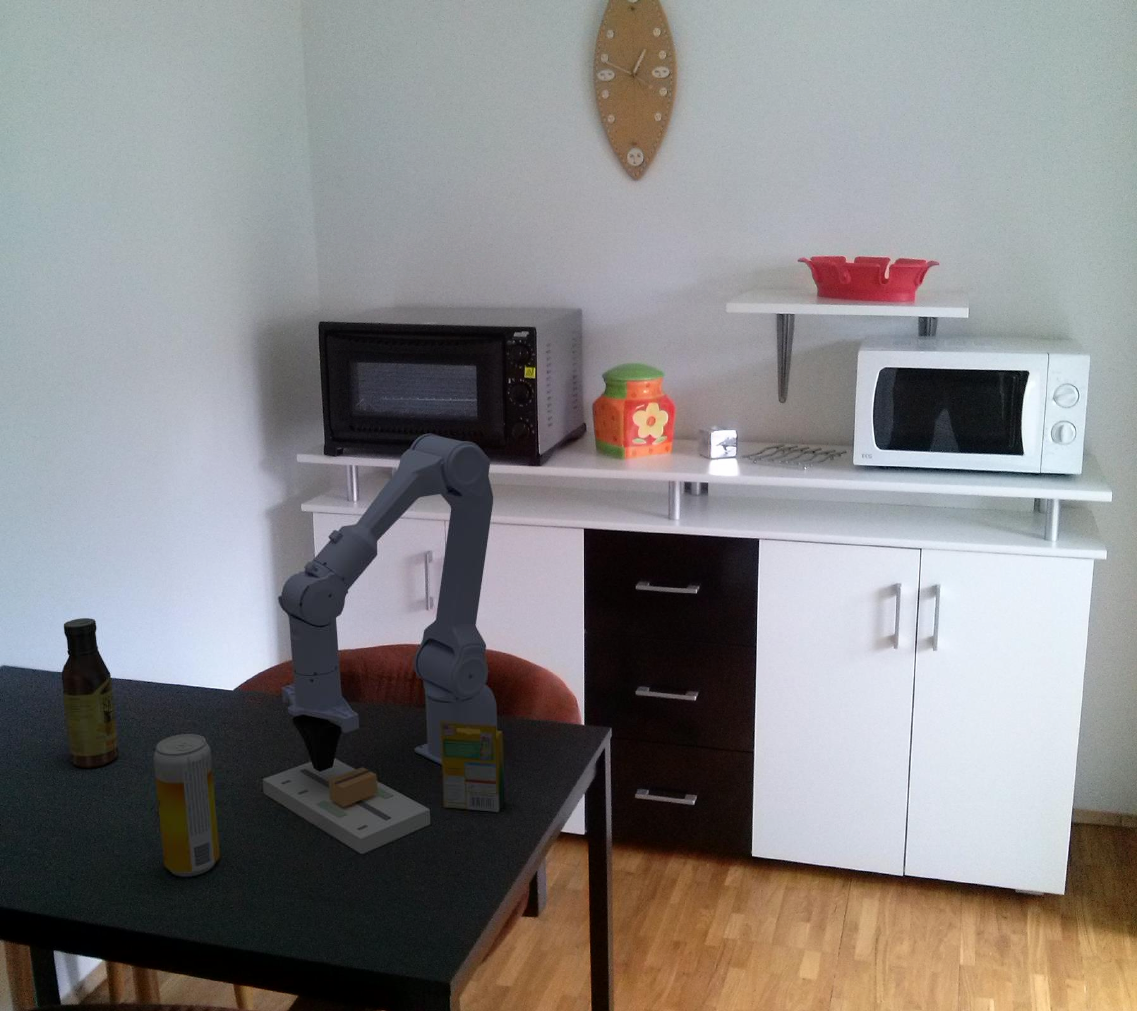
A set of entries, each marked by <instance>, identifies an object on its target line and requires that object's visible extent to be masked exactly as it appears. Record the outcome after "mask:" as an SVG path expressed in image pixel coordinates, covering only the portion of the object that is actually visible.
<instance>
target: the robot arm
mask: <svg viewBox="0 0 1137 1011" xmlns="http://www.w3.org/2000/svg"><path fill="white" fill-rule="evenodd" d="M490 468H491V459H490V458H489V457H488V455H487V454H485V452H484V450H482V449H481V447H480V446H479V445H477V444H476V443H474V442H473V441H468V440H465V441H462V440H458V439H453V438H448V437H444V436H440V435H437V434H435V433H425V434H424V433H423V434H422V435H420V436H418V437H417V438H416V439H415V440H414V441H413V443H412V444H411V446H410V447H409V448H408V449H407V450H406V451H404V452H403V453H402V455H401V456H400V460H399V463H398V466H397V469H396V470H395V472H394V473H393V474H392V476H391V477H390V478H389V480H388V481H387V482H386V484H385V485H384V486H383V488H382V489H381V490H380V492H379V493H378V494H377V496H376V497H375V498H374V500H373V501H372V502H371V503H370V505H369V506H368V507H367V509H366V511H365V512H364V513H363V514H362V515H361V517H360V518H359V519H358V521H357V522H356V523H354V524H348V525H341V527H340V528H339V529H338V530H336V529H334V530H332V532H331V533H330V534H329V535H328V539H329V541H328V542H327V543H326V545H324V547H323V548H322V549H321V550H320V551H319V552H318V554H317V555H316V556H315V557H314V558H313V560H311V561H308V562H307V563H306V564H305V565H304V570H303V571H299V572H298V573H294V574H292V575H291V576H289V578H288V579H287V580H286V581H285V583H284V584H283V587H282V591H281V594H280V595H279V596H278V597H277V599H278V604H279V606H280V608H281V609H282V611H283V612H285V613H286V615H287V616H288V621H289V622H288V623H289V633H290V634H289V636H290V639H289V640H290V649H291V650H290V651H291V662H292V674H293V683H291V684H290V685H286V686H282V687H281V699H282V700H281V701H282V702H283V703H285V704H289V703H290V704H291V705H290V706H288V707H287V712H288V714H290V715H292V716H293V718H292V721H291V722H292V724H293V725H294V727H295V728H296V729H297V731H298V732H299V734H300V736H301V738H302V740H303V742H304V744H305V748H306V750H307V753H308V756H309V759H310V762H312V765H313V767H314V769H315V770H317V771H319V772H321V771H324V770H326V769H329V768H332V767H333V763H334V758H335V757H336V752H337V748H338V743H339V740H340V737H341V735H342V732H343V733H344V734H347V733H350V732H353V731H355V730H358V729H359V728H360V723H359V720H360V719H359V713H357V712H356V711H354V710H353V709H352V707H351V706H350V705H349V703H348V702H347V700H346V699H345V698H344V696H343V695H342V684H341V682H342V681H341V669H340V655H339V640H338V639H339V638H338V627H337V625H338V624H337V617H340V616H341V615H342V613H343V610H344V608H345V603H346V597H347V594H348V593H349V591H348V590H350V589H351V587H353V585H354V584H355V582H356V581H358V579H359V578H360V576H361V575H362V574H363V573H364V572H365V571H366V570H367V568H369V566H370V564H372V562H373V561H374V560H375V559H376V557H377V556H378V541H379V540H380V538H382V537H383V536H384V535H385V534H386V533H387V531H389V530H390V528H391V527H392V526H393V525H394V524H396V522H397V521H399V519H400V518H401V517H402V516H403V515H404V514H405V513H406V512H407V511H408V510H409V509H410V508H411V507H412V506H413V505H414V503H415V502H416V501H417V500H418V499H420V498H423V497H429V496H430V497H431V496H437V495H440V496H441V497H442V498H443V499H444V500H445V501H446V503H447V504H448V505H449V506H450V513H449V520H448V521H449V522H448V530H447V536H446V543H445V550H444V551H445V552H444V558H443V565H442V573H441V577H440V578H441V580H440V587H439V594H438V602H437V608H436V616H435V620H434V621H432V623H430V624H429V625H428V626H427V627H426V628H425V629H424V630H423V635H422V639H421V643H420V645H418V646H419V647H418V648H417V650H416V652H415V654H414V658H413V668H414V669H413V670H414V671H415V673H416V675H417V677H418V678H419V679H421V680H422V682H423V689H424V694H425V717H426V737H427V738H426V740H427V742H426V743H425V744H422V745H420V746H419V745H418V746H416V747H415V748H414V752H415V753H416V754H418V755H421V756H423V757H425V758H427V759H429V760H431V761H433V762H434V763H437V764H438V765H441V766H442V749H441V735H442V734H441V722H455V723H469V724H484V725H496V731H498V716H497V713H498V712H497V708H498V707H497V702H496V699H495V698H496V697H495V695H494V692H493V691H492V689H491V688H490V687H489V686H488V685H487V684H486V683H487V680H488V675H489V667H488V664H487V663H488V662H487V660H486V651H487V650H486V649H487V644H486V642H485V640H484V638H483V637H482V635H481V632H480V631H479V630H478V627H477V620H478V618H477V617H478V613H479V605H480V598H481V590H482V584H483V579H484V578H483V576H484V570H485V562H486V555H487V549H488V542H489V541H488V540H489V535H490V526H491V520H492V512H493V506H494V493H493V489H492V486H491V485H492V484H491V481H490V476H489V474H490ZM463 729H472V728H470V727H466V728H463ZM477 730H479V729H477ZM335 759H336V758H335Z"/></svg>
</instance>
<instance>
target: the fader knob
mask: <svg viewBox="0 0 1137 1011" xmlns="http://www.w3.org/2000/svg"><path fill="white" fill-rule="evenodd" d="M377 776H378V775H377V774H376V773H374V772H373V771H372V770H370V769H367V768H365V767H360V768H357V769H356V770H354V771H351V772H349V773H346V774H343V775H341V776H338V777H335V778H333V779H330V780H329V793H330V799H331V800H333V801H334V802H336V803H338V804H340V805H341V806H343V807H344V806H347V805H349V804H352V803H354V802H357V801H359V800H362V799H364V798H367V797H369V796H372V795H374V794H377V793H378V791H377V781H378V777H377Z"/></svg>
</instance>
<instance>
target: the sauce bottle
mask: <svg viewBox="0 0 1137 1011" xmlns="http://www.w3.org/2000/svg"><path fill="white" fill-rule="evenodd" d="M63 633H64V636H65V638H66V644H67V645H66V646H67V650H66V652H67V654H68V658H67V660H66V662H65V664H63V668H62V670H61V681H62V688H63V692H62V696H63V704H64V714H65V721H66V730H67V739H68V746H69V747H68V748H69V754H70V756H71V762H72V763H73V765H74V766H77V767H80V768H94V767H101V766H104V765H106V764H109V763H111V762H112V761H114V760H115V759H116V758H117V757H118V753H119V748H118V747H119V746H118V745H119V741H118V740H119V738H118V729H117V720H116V711H115V703H114V696H113V695H114V694H113V683H112V677H111V672H110V671H109V669H108V667H107V665H106V663H105V661H104V659H103V657H102V655H101V653H100V651H99V647H98V643H97V634H96V633H97V622H96V620H95V618H89V617H88V618H87V617H86V618H85V617H82V618H76V619H72V620H69V621H66V622H65V623H64V624H63Z"/></svg>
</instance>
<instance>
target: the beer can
mask: <svg viewBox="0 0 1137 1011" xmlns="http://www.w3.org/2000/svg"><path fill="white" fill-rule="evenodd" d="M155 748H156V749H155V752H154V755H153V763H154V764H153V765H154V766H153V768H154V778H155V785H156V786H155V787H156V788H155V789H156V795H157V798H156V799H157V805H158V814H159V815H158V817H159V825H160V827H159V828H160V835H161V836H160V837H161V846H162V856H163V864H164V865H163V866H164V867H165V868H166V869H167V870H169V871H170V873H172V874H173V875H175V876H176V877H177V876H178V877H193V876H198V875H202V874H204V873H207V872H208V871H210V870H211V869H212V868H213V867H214V866H215V864H216V862H217V861H218V859H219V858H220V845H219V833H218V821H217V810H216V800H215V799H216V798H215V788H214V787H215V786H214V776H213V775H214V774H213V767H212V766H213V765H212V754H211V753H212V752H211V747H210V746H209V744H208V743H207V740H206V738H205V737H204V736H203V735H199V734H197V733H196V734H194V733H183V734H176V735H172V736H169V737H166V738H164V739H163V740H161V741H159V742H158V743H157V744H156V747H155Z"/></svg>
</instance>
